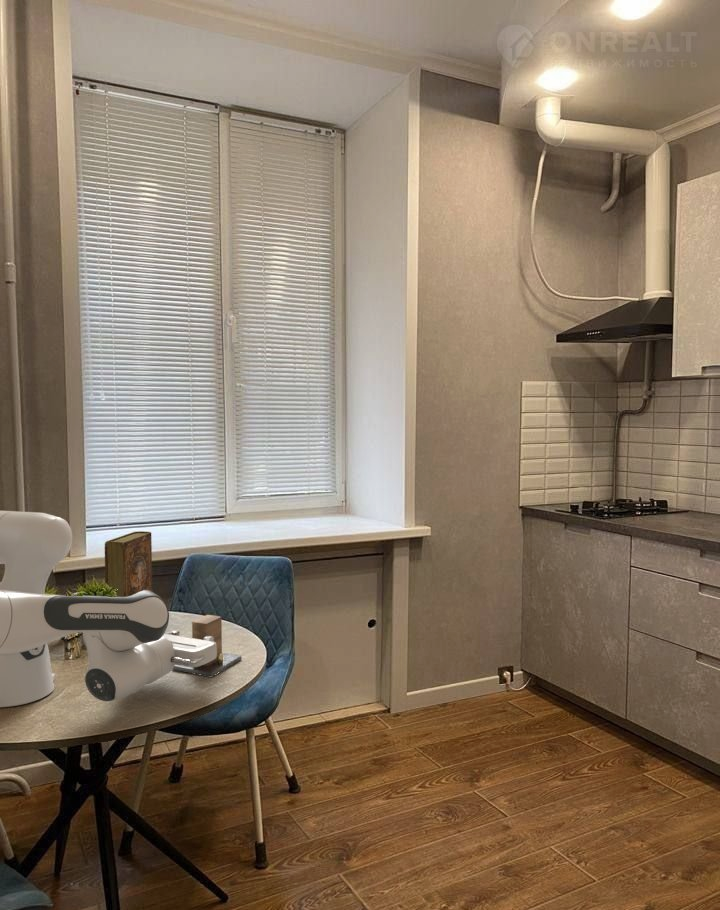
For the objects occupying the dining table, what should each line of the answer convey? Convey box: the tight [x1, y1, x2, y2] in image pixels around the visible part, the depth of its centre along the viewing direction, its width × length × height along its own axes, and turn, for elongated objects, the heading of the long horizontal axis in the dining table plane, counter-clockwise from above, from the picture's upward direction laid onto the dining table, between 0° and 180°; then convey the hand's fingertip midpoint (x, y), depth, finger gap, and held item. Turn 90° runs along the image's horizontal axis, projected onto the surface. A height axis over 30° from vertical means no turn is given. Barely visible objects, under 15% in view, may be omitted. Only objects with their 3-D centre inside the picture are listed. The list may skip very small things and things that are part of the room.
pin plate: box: [172, 651, 242, 677], centre depth 164 cm, size 11×12×3 cm
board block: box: [191, 614, 223, 666], centre depth 164 cm, size 4×6×10 cm, turn 156°
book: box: [104, 530, 153, 597], centre depth 193 cm, size 16×6×25 cm, turn 168°
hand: (193, 636), depth 159 cm, fingers open, 8 cm apart
